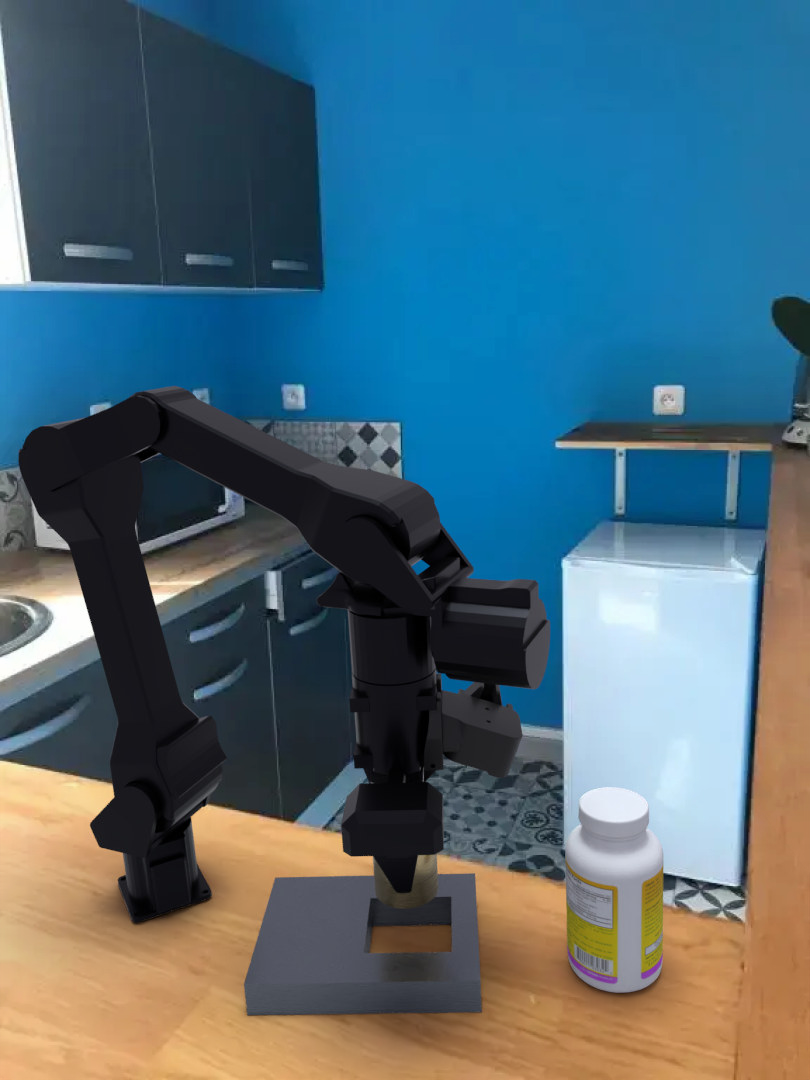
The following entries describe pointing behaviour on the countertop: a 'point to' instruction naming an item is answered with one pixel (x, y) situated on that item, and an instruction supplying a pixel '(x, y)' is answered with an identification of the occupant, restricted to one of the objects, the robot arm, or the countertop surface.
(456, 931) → the jig
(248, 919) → the countertop surface
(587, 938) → the supplement bottle
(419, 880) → the bushing
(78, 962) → the countertop surface
